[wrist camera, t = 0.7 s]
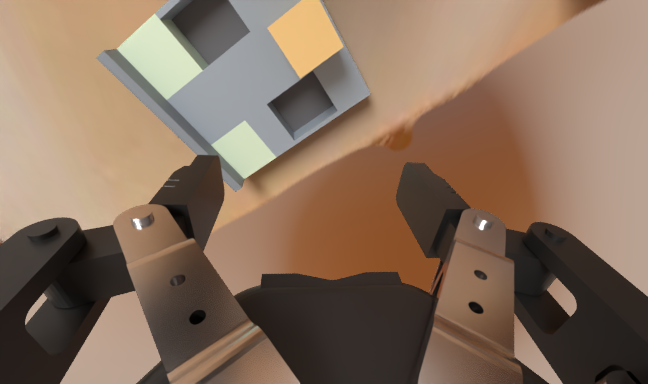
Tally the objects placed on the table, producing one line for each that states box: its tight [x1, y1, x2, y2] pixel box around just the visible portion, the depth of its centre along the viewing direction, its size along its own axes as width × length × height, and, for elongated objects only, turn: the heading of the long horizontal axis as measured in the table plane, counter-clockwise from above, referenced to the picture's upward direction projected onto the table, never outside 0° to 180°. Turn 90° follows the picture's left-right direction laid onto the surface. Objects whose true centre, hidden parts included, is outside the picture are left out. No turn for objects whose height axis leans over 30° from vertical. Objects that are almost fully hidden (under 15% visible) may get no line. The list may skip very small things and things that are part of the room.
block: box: [267, 0, 344, 79], centre depth 23 cm, size 4×4×4 cm
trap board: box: [97, 0, 371, 192], centre depth 27 cm, size 19×17×5 cm
